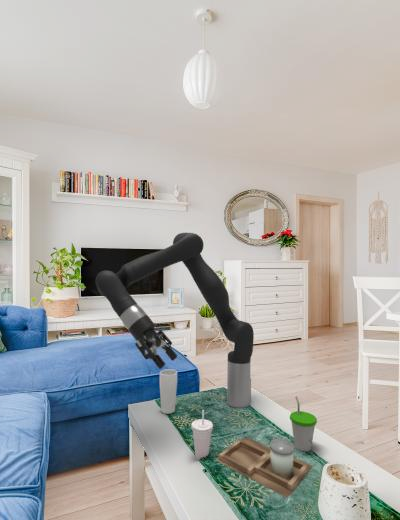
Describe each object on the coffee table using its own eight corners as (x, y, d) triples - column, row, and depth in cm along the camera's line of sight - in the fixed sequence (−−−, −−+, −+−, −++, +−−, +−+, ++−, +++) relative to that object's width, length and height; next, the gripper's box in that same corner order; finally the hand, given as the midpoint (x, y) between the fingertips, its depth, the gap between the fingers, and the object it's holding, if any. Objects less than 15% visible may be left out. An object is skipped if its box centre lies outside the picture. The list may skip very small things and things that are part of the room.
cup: (316, 460, 94) (317, 409, 94) (289, 455, 97) (289, 405, 97) (315, 446, 102) (316, 398, 102) (289, 441, 104) (290, 395, 104)
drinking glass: (174, 416, 120) (174, 375, 120) (156, 414, 121) (157, 374, 121) (178, 408, 126) (179, 369, 126) (162, 406, 128) (162, 368, 128)
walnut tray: (245, 440, 104) (245, 432, 104) (313, 470, 90) (313, 460, 90) (215, 464, 92) (215, 454, 92) (287, 502, 78) (287, 491, 78)
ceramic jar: (276, 461, 92) (276, 435, 92) (298, 470, 88) (298, 444, 88) (265, 472, 87) (265, 445, 87) (287, 483, 83) (287, 455, 83)
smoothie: (195, 466, 91) (196, 416, 91) (187, 453, 97) (188, 406, 97) (216, 460, 94) (217, 412, 94) (207, 448, 100) (207, 403, 100)
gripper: (132, 318, 96) (167, 361, 92) (155, 311, 109) (186, 349, 105) (117, 334, 98) (150, 377, 94) (141, 325, 111) (171, 363, 107)
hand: (169, 362), depth 100 cm, fingers open, 8 cm apart
